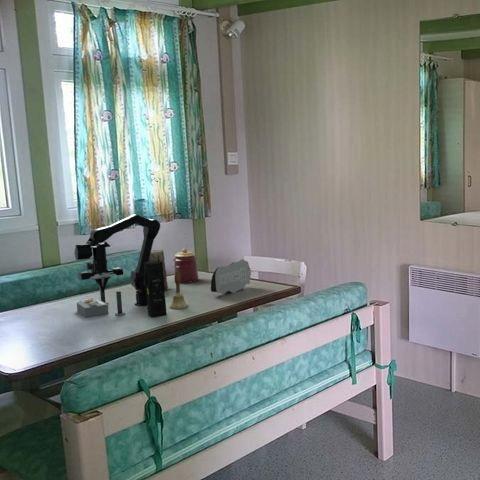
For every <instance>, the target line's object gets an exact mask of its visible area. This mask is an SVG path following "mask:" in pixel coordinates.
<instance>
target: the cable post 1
mask: <svg viewBox="0 0 480 480" xmlns="http://www.w3.org/2000/svg"><path fill="white" fill-rule="evenodd" d="M105 290H106V289H105ZM105 290H104V293H101V291H100V290H99V292H100V293H99V294H100V300H101V301H103V302H104V303H106V304H108V305H109V302H107V301H106V292H105Z"/></svg>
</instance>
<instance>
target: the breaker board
mask: <svg viewBox="0 0 480 480" xmlns="http://www.w3.org/2000/svg"><path fill="white" fill-rule="evenodd" d="M96 300H97V301H98V303H97V304H95V305H92V306H91V305H90V303H89V302H87V303H86V302H85V300H84V301H79V302H78V301H77V302H76V309H77V310H76V311H77V313H79V314H80V313H81V314H80V315H82V316H83V317H85V318H89V317H94V316H95V317H97V316H103V315H107V314H109V303H108V304H106V303H104V302H103V301H101V299H96Z"/></svg>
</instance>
